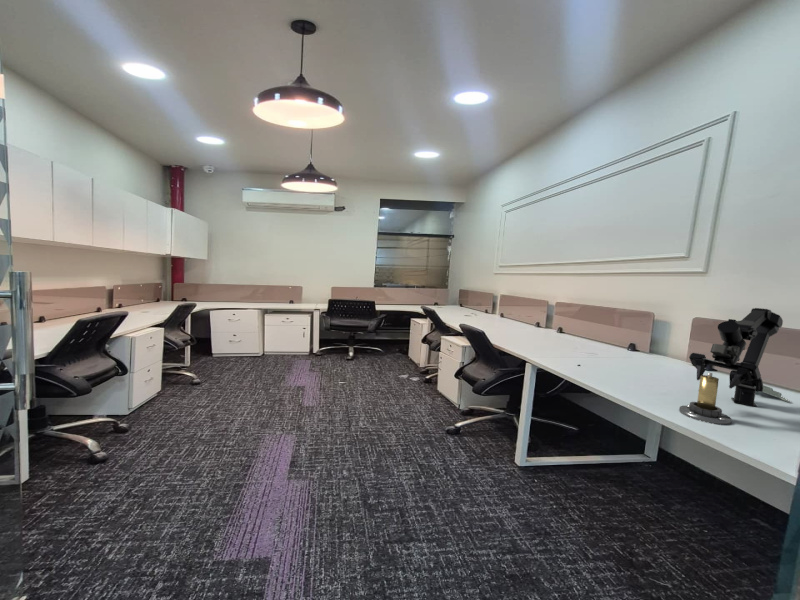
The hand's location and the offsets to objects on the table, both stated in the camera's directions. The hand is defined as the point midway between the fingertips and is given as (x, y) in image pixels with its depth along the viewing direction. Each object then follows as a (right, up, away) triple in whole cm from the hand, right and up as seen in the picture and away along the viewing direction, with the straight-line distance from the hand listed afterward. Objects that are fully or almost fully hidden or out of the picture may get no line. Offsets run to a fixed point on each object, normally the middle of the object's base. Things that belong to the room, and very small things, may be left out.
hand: (713, 383), depth 125 cm
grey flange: (-4, -11, -1) cm, 12 cm away
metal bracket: (+46, -12, +27) cm, 55 cm away
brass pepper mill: (-4, -10, -1) cm, 11 cm away
